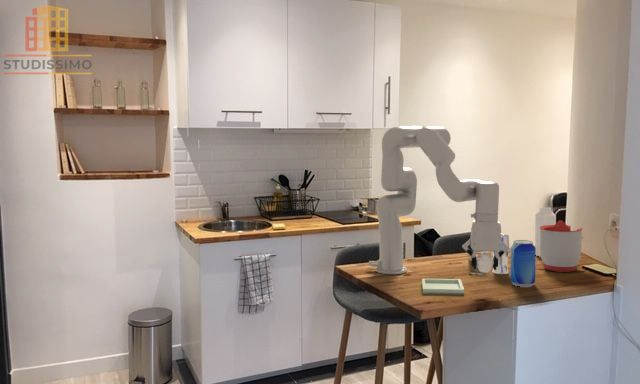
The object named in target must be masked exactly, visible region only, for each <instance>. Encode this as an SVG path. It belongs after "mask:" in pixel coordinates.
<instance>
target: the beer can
mask: <svg viewBox="0 0 640 384" xmlns="http://www.w3.org/2000/svg"><path fill="white" fill-rule="evenodd" d="M535 253H536V249H535V245H534V242H533V241H532V240H528V239H514V240H513V243H511V246H510V282H511V283H512V286H514V285H515V286H514V287H517V286H520V287H519V288H532V287H533V286H534V284H535V283H536V256H535Z"/></svg>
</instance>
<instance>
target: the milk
mask: <svg viewBox="0 0 640 384" xmlns="http://www.w3.org/2000/svg"><path fill="white" fill-rule="evenodd" d="M556 223H557V216H556V214H555V213H554V212H553V211H552V207H551V206H549V207H540V208H539V212H537V213H536V214H535V231H534V232H535V233H534V234H535V235H534V237H535V238H534V239H535V240H534V241H535V245H534V246H535V249H536V253H535V255H536V256H535V257H537V256H539V257H538V258H541V253H540V227H541V226H544V225H555V224H556Z"/></svg>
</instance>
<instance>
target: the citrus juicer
mask: <svg viewBox="0 0 640 384" xmlns="http://www.w3.org/2000/svg"><path fill="white" fill-rule="evenodd" d="M582 230H583V228H582V227H580V228H577V229H576V230H572V228H571V225H569V224H566V223H565V222H564V221H563V220H560V219H559V220H558V221H556V224H555V225H544V226H541V227H540V253H541V257H540V258H541V261H542V265H543V268H544V269H545V270H548V271H553V272H556V273H567V272H574V271H576V270H577V268H578V267H579V263H580V260H581V256H582V240H583V239H584V236H583V235H582V233H583V232H582Z"/></svg>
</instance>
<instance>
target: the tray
mask: <svg viewBox="0 0 640 384" xmlns="http://www.w3.org/2000/svg"><path fill="white" fill-rule="evenodd" d="M421 286H422V294H423V295H456V296H457V295H458V296H459V295H460V296H462V295H465V288H464V285H463V282H462V279H461V278H421Z"/></svg>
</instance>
